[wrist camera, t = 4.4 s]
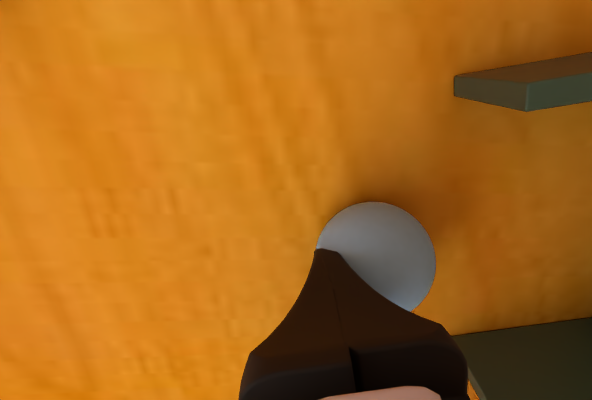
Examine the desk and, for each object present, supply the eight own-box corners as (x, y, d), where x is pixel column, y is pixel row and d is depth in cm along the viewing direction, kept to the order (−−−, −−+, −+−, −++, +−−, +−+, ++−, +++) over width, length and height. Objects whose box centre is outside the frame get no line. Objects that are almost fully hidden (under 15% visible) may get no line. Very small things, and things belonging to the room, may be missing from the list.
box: (603, 326, 18) (707, 414, 14) (450, 347, 19) (501, 439, 14) (671, 38, 13) (880, 25, 8) (453, 75, 13) (538, 83, 9)
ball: (361, 266, 19) (452, 304, 15) (296, 311, 16) (391, 371, 12) (360, 180, 17) (462, 200, 14) (286, 211, 14) (393, 246, 10)
